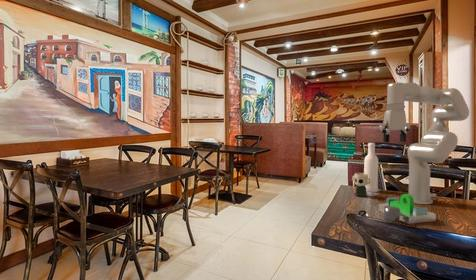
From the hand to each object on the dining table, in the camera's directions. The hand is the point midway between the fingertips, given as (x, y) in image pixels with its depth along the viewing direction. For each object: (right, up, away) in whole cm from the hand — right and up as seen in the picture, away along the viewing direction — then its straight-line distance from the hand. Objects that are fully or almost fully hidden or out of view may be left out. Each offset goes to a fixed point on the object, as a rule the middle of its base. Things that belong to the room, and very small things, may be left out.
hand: (394, 141), depth 135 cm
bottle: (+4, -31, +33) cm, 45 cm away
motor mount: (-5, -34, -11) cm, 36 cm away
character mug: (-7, -32, +22) cm, 40 cm away
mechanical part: (-1, -31, -10) cm, 33 cm away
